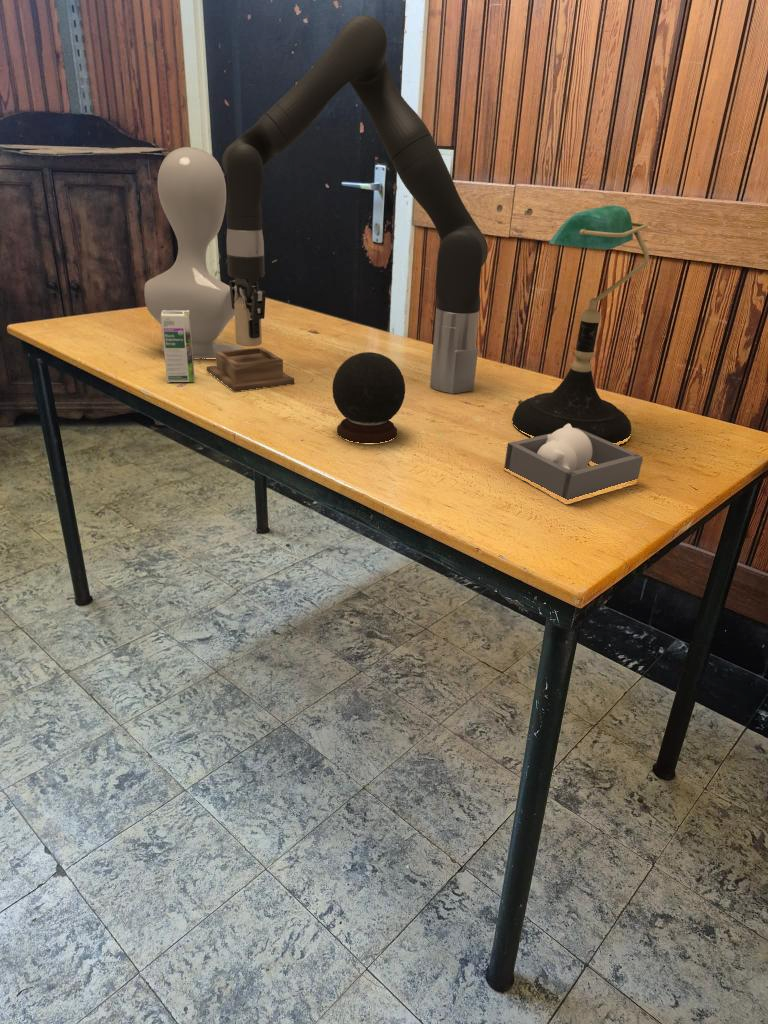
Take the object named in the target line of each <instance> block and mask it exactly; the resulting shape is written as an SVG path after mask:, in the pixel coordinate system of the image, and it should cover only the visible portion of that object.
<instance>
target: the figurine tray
mask: <svg viewBox="0 0 768 1024" xmlns="http://www.w3.org/2000/svg"><path fill="white" fill-rule="evenodd" d="M576 429H579V428H576ZM579 430H581V429H579ZM581 431H582V432H584V433H585V434H586V435H587V436H588V438H589V439H590V441H591V444H592V450H593V451H592V457H591V460H590V461H592V462H594V463H596V464H598V465H594V466H586V467H585V468H582V469H579V470H575V471H570V470H568V469H566V468H564V467H562V466H560V465H558V464H556V463H554V462H552V461H550V460H548V459H546V458H544V457H542V456H540V455H538V454H537V452H538V450H539V449H540V447H541V446H542V445H544V444H546V441H547V439H548V438H547V435H549V434H546V435H542V436H537V437H533V438H531V437H529V438H524V439H519V440H516V441H511V442H507V445H506V452H505V454H506V455H505V460H504V467H503V469H504V468H506V469H509V470H510V471H512V472H514V473H516V474H518V475H520V476H522V477H524V478H526V479H528V480H530V481H531V482H534V483H536V484H538V485H540V486H541V487H544V488H546V489H547V490H549V491H551V492H553V493H555V494H557V495H559V496H561V497H563V498H565V499H567V500H569V499H573V498H575V497H579V496H582V495H585V494H589V493H593V492H596V491H598V490H602V489H605V488H608V487H611V486H615V485H618V484H621V483H625V482H628V481H632V480H635V479H638V480H639V476H640V473H641V467H642V463H643V460H644V459H643V458H644V456H643V455H640V454H638V453H636V452H635V451H632V450H630V449H627V448H625V447H623V446H621V445H620V446H618V445H616V444H613V443H611V442H609V441H606V440H604V439H602V438H600V437H597V436H595V435H593V434H590V433H588V432H586V431H584V430H581ZM551 434H552V433H551ZM551 434H550V435H551Z"/></svg>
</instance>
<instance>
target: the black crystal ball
mask: <svg viewBox="0 0 768 1024" xmlns="http://www.w3.org/2000/svg"><path fill="white" fill-rule="evenodd" d="M331 390H332V397H333V401H334V404H335V405H336V406H335V407H336V408H337V409H338V411H339V412H340V413H341V415H342V416H343V417H344V419H342V420H341V421H340V423H339V424H338V425H337V427H336V434H337V433H338V434H337V436H338V435H339V436H341V437H342V438H344V439H347V440H349V441H353V442H359V443H380V442H385V441H389V440H391V439H393V438H395V437H396V436H398V429H397V427H396V426H395V424H394V423H393V422H392V421H391V420H392V419H393V417H394V416H395V415H396V414H397V413H399V411H400V409H401V408H402V405H403V403H404V400H405V396H406V395H405V394H406V383H405V379H404V375H403V373H402V371H401V370H400V368H399V367H398V365H397V363H395V362H394V361H393V360H392V359H391V358H389V357H388V356H386V355H383V354H381V353H376V352H373V351H371V352H370V351H369V352H367V351H366V352H365V351H364V352H359V353H357V354H355V355H351V356H350V357H348V358H347V359H345V360H344V361H343V363H341V365H340V366H339V367H338V368H337V371H336V373H335V374H334V377H333V380H332V388H331ZM339 436H338V437H339ZM342 438H341V439H342ZM396 438H397V437H396ZM396 438H395V439H396ZM344 439H343V440H344Z"/></svg>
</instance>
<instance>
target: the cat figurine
mask: <svg viewBox="0 0 768 1024" xmlns="http://www.w3.org/2000/svg"><path fill="white" fill-rule="evenodd" d="M547 438H548V439H547V441H546V444H544V445H542V446H541V447H540V449H539V450H538V452H537V454H538V455H540V456H542V457H544V458H546V459H548V460H550V461H552V462H554V463H556V464H558V465H560V466H562V467H564V468H566V469H568V470H570V471H575V470H579V469H582V468H586V467H588V466H589V465H588V464H589V462H590V460H591V457H592V451H593V450H592V444H591V441H590V439H589V438H588V436H587V435H586V434H585V433H584V432H582V431H581V430H579V429H576V428H572V426H571V424H566V425H565V426H564V427H563V428H561V429H558V430H556V431H555V432H553V433H552V434H551V435H550V434H549V435H547Z"/></svg>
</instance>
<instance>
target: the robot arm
mask: <svg viewBox="0 0 768 1024" xmlns="http://www.w3.org/2000/svg"><path fill="white" fill-rule="evenodd" d="M387 49H388V37H387V33H386V30H385V27H384V26H383V24H382V23H381V22H380V21H379V20H378V19H377V18H375V17H374V16H371V15H366V14H361V15H360V14H359V15H357V16H354V17H352V18H351V19H349V20H348V21H347V22H346V24H344V26H343V27H342V29H341V30H340V32H339V33H338V34H337V36H336V37H335V39H333V41H332V42H331V43H330V45H329V47H328V48H327V49H326V51H325V52H324V53H323V54H322V55H321V56H320V58H319V59H318V60H317V61H316V62H315V64H314V65H313V66H312V67H311V68H310V69H309V70H308V71H307V72H306V73H305V75H304V76H303V77H301V79H299V81H297V82H296V83H295V85H294V86H292V87H291V89H289V90H288V91H287V92H286V93H284V95H283V96H282V97H281V98H280V99H279V100H278V101H277V102H275V103H274V104H273V105H272V106H271V107H270V108H269V109H268V110H267V111H266V112H265V113H264V114H263V115H262V116H261V117H260V118H259V120H257V122H256V123H255V124H254V125H253V126H252V127H250V128H249V129H247V130H246V131H245V132H244V133H242V134H241V135H239V137H238V138H236V139H235V140H234V141H233V142H232V143H231V144H229V145H227V147H226V149H225V150H224V152H223V155H222V158H221V165H222V169H223V172H224V173H225V174H226V176H227V193H228V194H227V195H228V197H227V199H226V206H225V214H226V228H227V229H226V241H225V242H226V257H227V258H226V259H227V275H228V276H229V277H231V278H234V279H233V280H229V282H228V283H229V284H228V286H230V294H231V303H232V308H233V309H234V303H235V302H236V301H237V299H238V298H239V297H240V296H241V298H242V300H243V305H244V309H245V310H247V314H248V319H249V320H248V324H249V337H250V338H259V337H260V325H259V320H261V321H262V320H263V319H264V320H265V314H266V295H267V293H266V291H265V290H260V288H259V287H260V286H259V281H258V280H259V279H262V278H264V276H265V242H264V235H263V219H262V218H263V216H262V215H263V213H262V195H263V185H264V183H263V181H264V166H265V165H266V164H268V162H270V161H271V159H272V158H274V157H275V156H276V155H280V154H281V153H283V152H284V151H286V150H287V149H288V148H289V147H290V146H291V145H292V144H293V143H294V142H295V141H297V139H299V138H300V137H301V136H302V134H304V133H305V131H307V129H308V128H309V127H310V126H311V125H312V124H313V123H314V122H315V120H316V119H317V118H318V116H319V115H320V114H321V112H322V111H323V110H324V109H325V107H326V106H327V105H328V104H329V102H330V101H331V100H332V99H333V97H334V96H335V95H337V93H338V92H339V91H340V90H341V89H342V88H343V87H344V86H346V85H347V84H348V83H349V84H350V85H351V87H352V89H353V91H354V92H355V94H356V95H357V97H358V98H359V99H360V101H361V103H362V104H363V106H364V107H365V110H367V113H368V115H369V116H370V118H371V121H372V123H373V125H374V127H375V130H376V132H377V134H378V136H379V139H380V141H381V143H382V145H383V147H384V149H385V151H386V153H387V155H388V157H389V160H390V162H391V164H392V165H393V167H394V169H395V171H396V172H397V175H398V177H399V179H400V180H401V182H402V183H403V185H404V187H405V188H406V189H407V191H408V192H409V193H410V194H411V196H412V197H413V198H414V200H415V201H416V202H417V203H418V204H419V205H420V206H421V208H422V209H423V210H424V211H425V213H426V214H427V215H428V217H429V218H430V220H431V221H432V224H433V225H434V228H435V230H436V232H437V233H438V236H439V239H440V241H441V243H440V245H439V247H438V251H437V252H438V253H437V258H436V259H437V260H436V261H437V262H436V277H435V278H436V279H435V296H436V309H435V321H434V332H433V333H434V334H433V343H432V355H431V356H432V357H431V367H430V370H431V371H430V379H429V380H430V382H429V387H431V388H432V389H434V390H436V391H440V392H444V393H449V394H452V395H453V394H460V393H466V392H472V391H471V390H473V391H474V387H475V379H476V370H477V360H478V351H479V349H478V348H477V347H476V345H477V344H476V343H477V334H478V324H479V318H480V317H479V316H480V307H481V297H480V296H481V295H480V284H481V277H482V276H481V275H482V267H483V266H484V265H485V263H486V262H487V258H488V254H489V246H488V242H487V239H486V238H485V236H484V234H483V232H482V231H481V229H480V228H479V227H478V225H477V223H476V222H475V220H474V218H473V217H472V215H471V214H470V213H469V211H468V209H467V208H466V206H465V205H464V202H463V201H462V199H461V197H460V195H459V193H458V190H457V188H456V185H455V182H454V180H453V178H452V176H451V173H450V171H449V169H448V167H447V165H446V163H445V161H444V159H443V155H442V154H441V151H440V149H439V148H438V145H437V143H436V141H435V140H434V137H433V136H432V134H431V132H430V131H429V128H428V126H426V124H425V122H424V121H423V119H422V118H421V117H420V116H419V115H418V113H417V112H416V111H415V110H414V109H413V108H412V107H411V106H410V105H409V103H408V102H407V101H406V100H405V98H404V97H403V96H402V95H401V93H400V91H399V89H398V87H397V86H396V83H395V81H394V78H393V76H392V73H391V71H390V69H389V67H388V63H387V61H386V55H387ZM248 303H252V305H249V304H248ZM251 309H252V313H251Z"/></svg>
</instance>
